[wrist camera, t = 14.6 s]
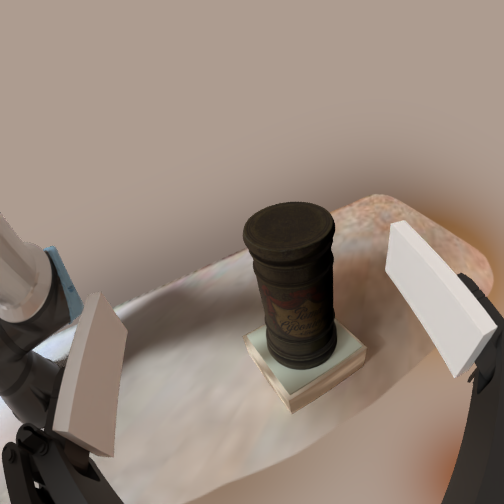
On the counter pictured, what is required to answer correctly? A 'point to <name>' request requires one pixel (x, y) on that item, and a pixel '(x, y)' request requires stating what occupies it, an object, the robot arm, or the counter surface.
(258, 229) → the container
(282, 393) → the stand
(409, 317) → the counter surface
